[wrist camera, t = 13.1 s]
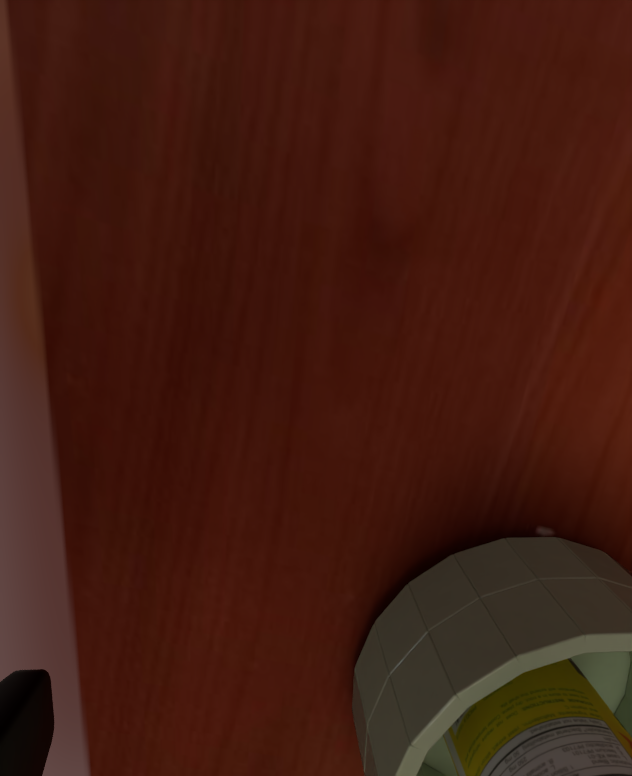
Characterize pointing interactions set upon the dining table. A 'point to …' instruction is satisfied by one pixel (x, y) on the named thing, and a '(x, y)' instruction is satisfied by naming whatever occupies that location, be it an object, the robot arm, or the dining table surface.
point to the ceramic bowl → (487, 643)
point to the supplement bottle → (541, 729)
